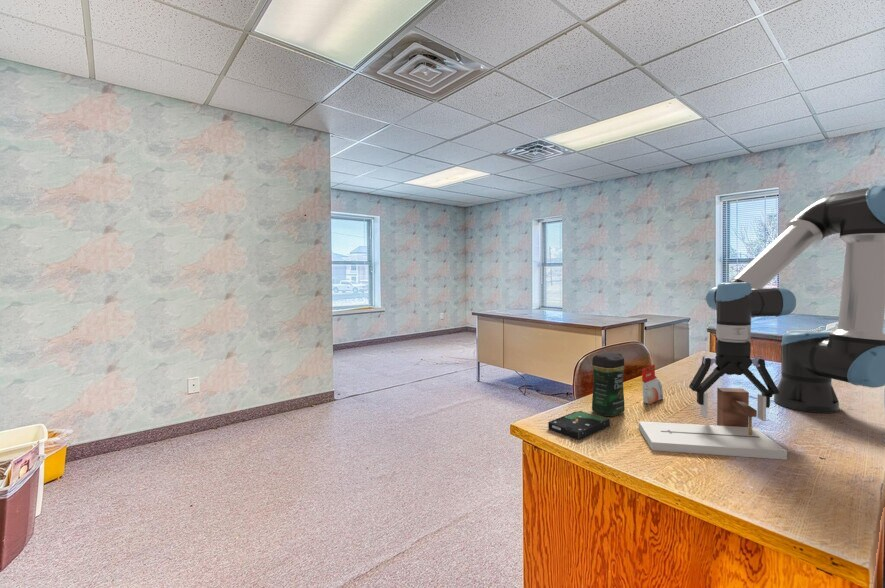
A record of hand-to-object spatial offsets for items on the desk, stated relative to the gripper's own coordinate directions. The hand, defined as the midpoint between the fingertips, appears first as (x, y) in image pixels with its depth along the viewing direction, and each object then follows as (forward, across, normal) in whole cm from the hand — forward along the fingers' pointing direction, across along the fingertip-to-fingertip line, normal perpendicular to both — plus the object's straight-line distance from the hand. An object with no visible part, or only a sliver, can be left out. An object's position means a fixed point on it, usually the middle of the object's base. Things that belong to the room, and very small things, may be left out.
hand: (732, 417), depth 108 cm
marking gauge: (+3, 0, -4) cm, 5 cm away
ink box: (+4, -14, +23) cm, 27 cm away
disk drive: (+4, -40, -5) cm, 40 cm away
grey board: (+3, -10, -10) cm, 14 cm away
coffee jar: (+4, -30, +9) cm, 32 cm away
